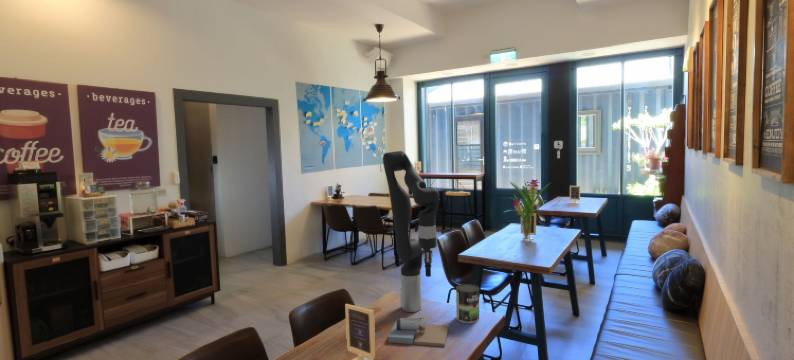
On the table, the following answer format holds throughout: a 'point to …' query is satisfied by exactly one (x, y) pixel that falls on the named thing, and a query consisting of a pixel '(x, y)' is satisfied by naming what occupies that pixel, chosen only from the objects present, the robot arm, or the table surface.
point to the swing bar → (411, 323)
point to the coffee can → (467, 303)
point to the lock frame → (420, 335)
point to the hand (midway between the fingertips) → (428, 276)
